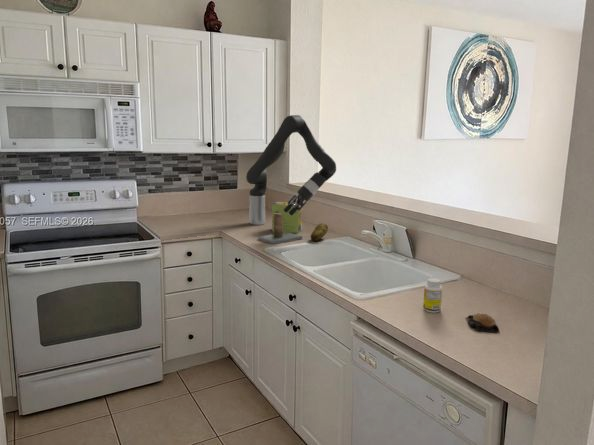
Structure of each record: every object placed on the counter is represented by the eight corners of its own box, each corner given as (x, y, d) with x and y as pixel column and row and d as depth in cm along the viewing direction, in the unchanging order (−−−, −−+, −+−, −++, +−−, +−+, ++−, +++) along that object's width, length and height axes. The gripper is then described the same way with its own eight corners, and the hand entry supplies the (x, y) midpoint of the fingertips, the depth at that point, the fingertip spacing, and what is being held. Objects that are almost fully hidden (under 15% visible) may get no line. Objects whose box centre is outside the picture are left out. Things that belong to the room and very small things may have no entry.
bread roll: (463, 319, 151) (464, 308, 150) (491, 320, 150) (492, 309, 149) (472, 333, 140) (473, 321, 139) (502, 335, 139) (503, 323, 139)
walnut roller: (272, 236, 250) (271, 213, 248) (278, 235, 253) (278, 212, 251) (277, 238, 246) (277, 214, 244) (284, 236, 249) (284, 213, 247)
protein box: (298, 233, 266) (299, 205, 263) (271, 231, 269) (271, 204, 266) (302, 229, 276) (302, 202, 273) (276, 227, 279) (276, 201, 276)
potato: (304, 240, 250) (304, 224, 248) (321, 236, 258) (321, 221, 257) (315, 243, 244) (315, 227, 242) (332, 239, 253) (333, 224, 251)
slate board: (258, 239, 250) (258, 236, 249) (286, 234, 262) (286, 231, 261) (273, 244, 240) (273, 241, 240) (302, 239, 252) (302, 236, 252)
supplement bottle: (427, 305, 160) (429, 276, 158) (443, 309, 157) (445, 279, 155) (420, 310, 156) (422, 280, 154) (436, 314, 153) (438, 283, 150)
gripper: (298, 183, 255) (278, 205, 254) (308, 186, 242) (286, 210, 241) (308, 193, 258) (287, 215, 257) (318, 196, 245) (296, 220, 244)
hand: (287, 212), depth 249 cm, fingers open, 8 cm apart
